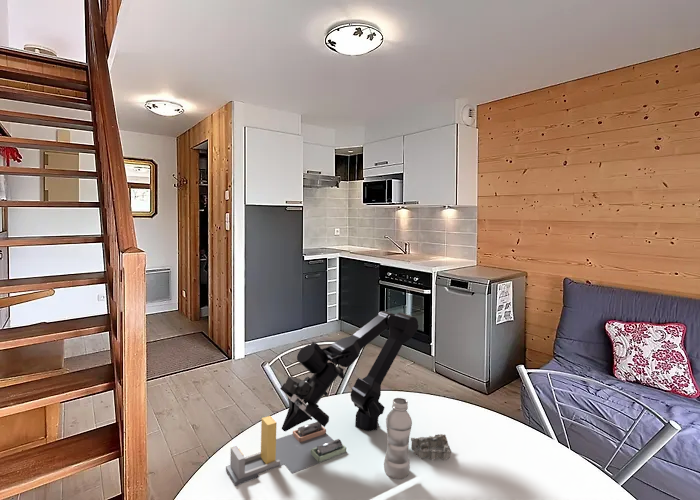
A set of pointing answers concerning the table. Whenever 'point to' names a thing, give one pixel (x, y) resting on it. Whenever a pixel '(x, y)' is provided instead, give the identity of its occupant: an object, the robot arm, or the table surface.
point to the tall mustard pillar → (268, 439)
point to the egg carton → (432, 442)
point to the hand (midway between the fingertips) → (283, 430)
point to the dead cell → (309, 429)
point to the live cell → (329, 447)
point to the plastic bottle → (398, 440)
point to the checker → (282, 456)
